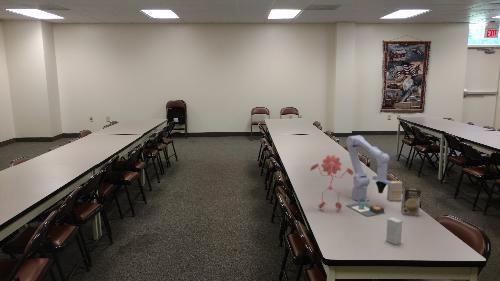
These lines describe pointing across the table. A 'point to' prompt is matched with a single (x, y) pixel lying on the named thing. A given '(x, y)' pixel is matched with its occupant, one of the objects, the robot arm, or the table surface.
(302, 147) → the table surface
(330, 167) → the figurine
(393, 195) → the supplement box
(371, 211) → the slate board
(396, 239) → the skincare box
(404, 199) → the coffee box
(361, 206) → the teal bottle
